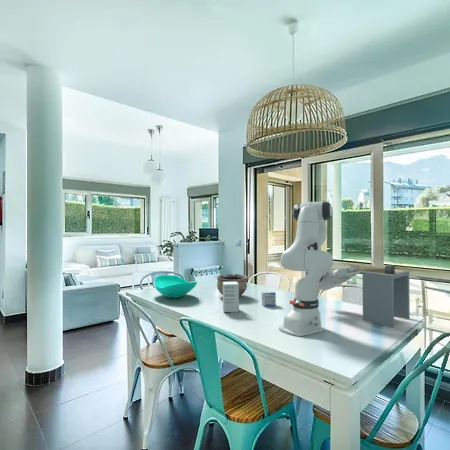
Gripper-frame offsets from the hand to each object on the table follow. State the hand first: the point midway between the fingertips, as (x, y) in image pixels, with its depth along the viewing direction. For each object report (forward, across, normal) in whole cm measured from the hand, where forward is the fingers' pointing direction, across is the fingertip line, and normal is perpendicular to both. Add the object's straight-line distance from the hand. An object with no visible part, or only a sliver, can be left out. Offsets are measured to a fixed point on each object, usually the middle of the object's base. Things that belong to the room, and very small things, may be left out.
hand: (359, 266), depth 170 cm
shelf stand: (-3, +5, +30) cm, 31 cm away
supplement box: (-62, -49, -3) cm, 79 cm away
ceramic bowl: (-84, -26, -16) cm, 90 cm away
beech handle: (+5, 0, +5) cm, 7 cm away
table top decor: (-107, -58, -29) cm, 125 cm away
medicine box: (-56, -23, 0) cm, 60 cm away
